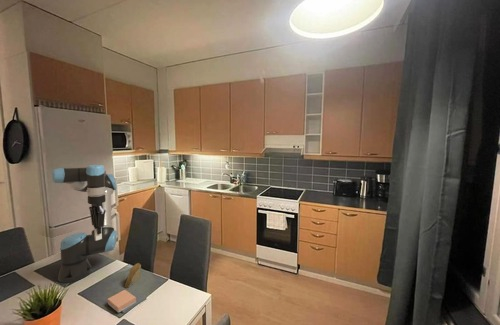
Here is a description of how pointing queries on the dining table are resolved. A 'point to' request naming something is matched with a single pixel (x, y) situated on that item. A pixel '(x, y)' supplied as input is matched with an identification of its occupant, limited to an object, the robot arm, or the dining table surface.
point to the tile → (121, 300)
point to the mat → (139, 299)
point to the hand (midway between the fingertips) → (98, 239)
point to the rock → (133, 275)
